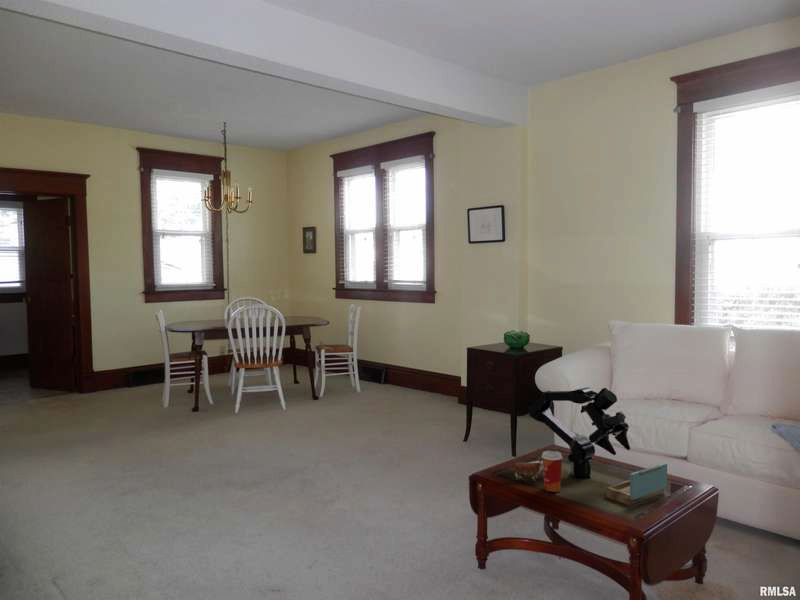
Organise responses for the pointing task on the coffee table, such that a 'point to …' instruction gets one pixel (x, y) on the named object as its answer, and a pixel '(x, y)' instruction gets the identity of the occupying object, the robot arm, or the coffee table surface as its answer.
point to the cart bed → (626, 493)
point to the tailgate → (648, 481)
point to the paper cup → (552, 470)
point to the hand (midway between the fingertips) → (622, 452)
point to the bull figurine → (527, 468)
